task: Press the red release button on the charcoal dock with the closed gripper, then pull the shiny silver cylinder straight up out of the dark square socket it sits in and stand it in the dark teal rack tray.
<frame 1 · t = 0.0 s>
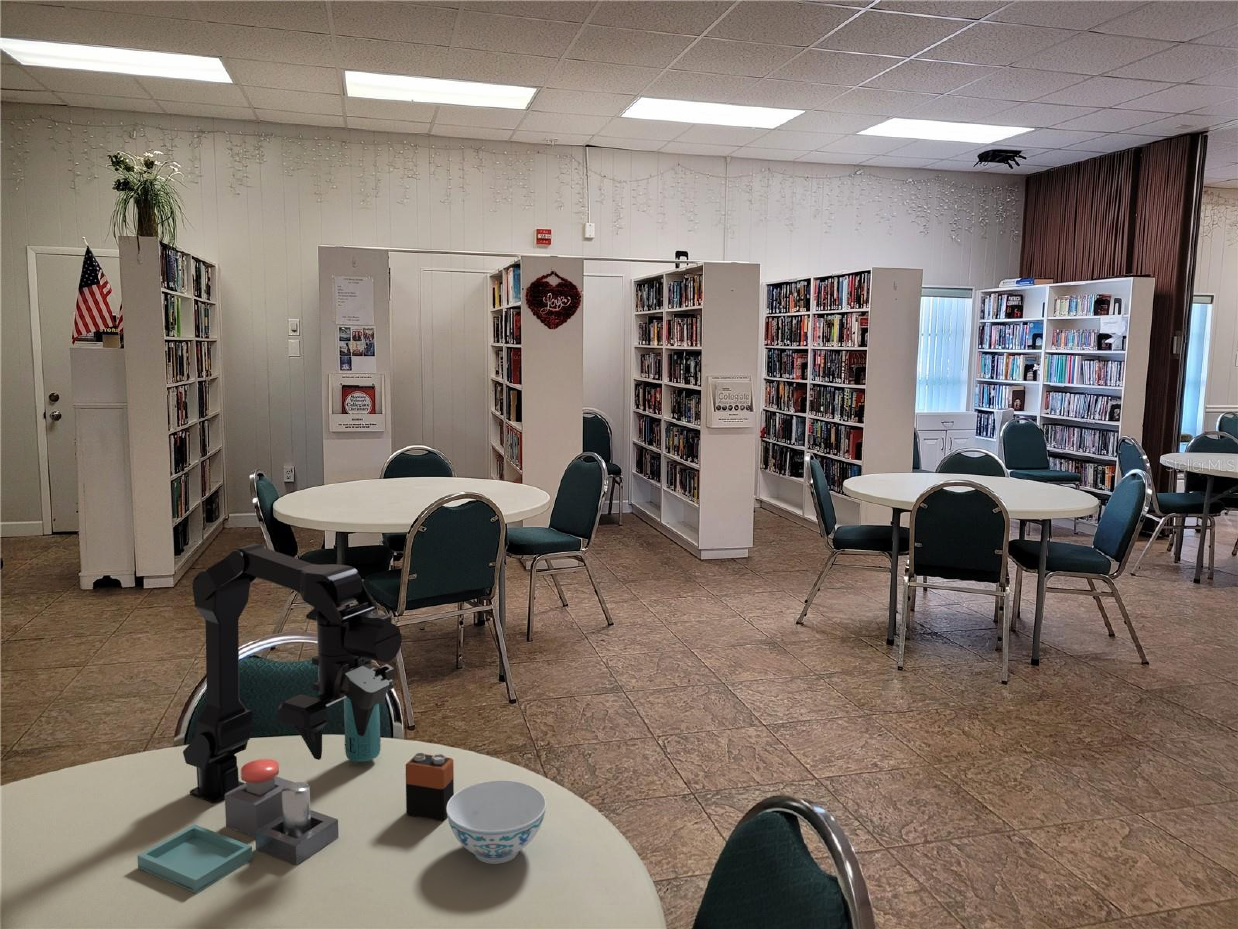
hand: (340, 747, 138), 15 cm above the table, tool pointing down, fingers open, 9 cm apart
rack tray: (195, 863, 132), on the table
shiny silver cylinder: (296, 816, 137), in the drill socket
chinaware: (496, 852, 137), on the table
dock: (262, 820, 144), on the table
beverage bottle: (362, 762, 165), on the table
release button: (260, 778, 143), point 7 cm above the table, slide at 0.0 cm
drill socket: (297, 843, 138), on the table
battery: (430, 813, 148), on the table
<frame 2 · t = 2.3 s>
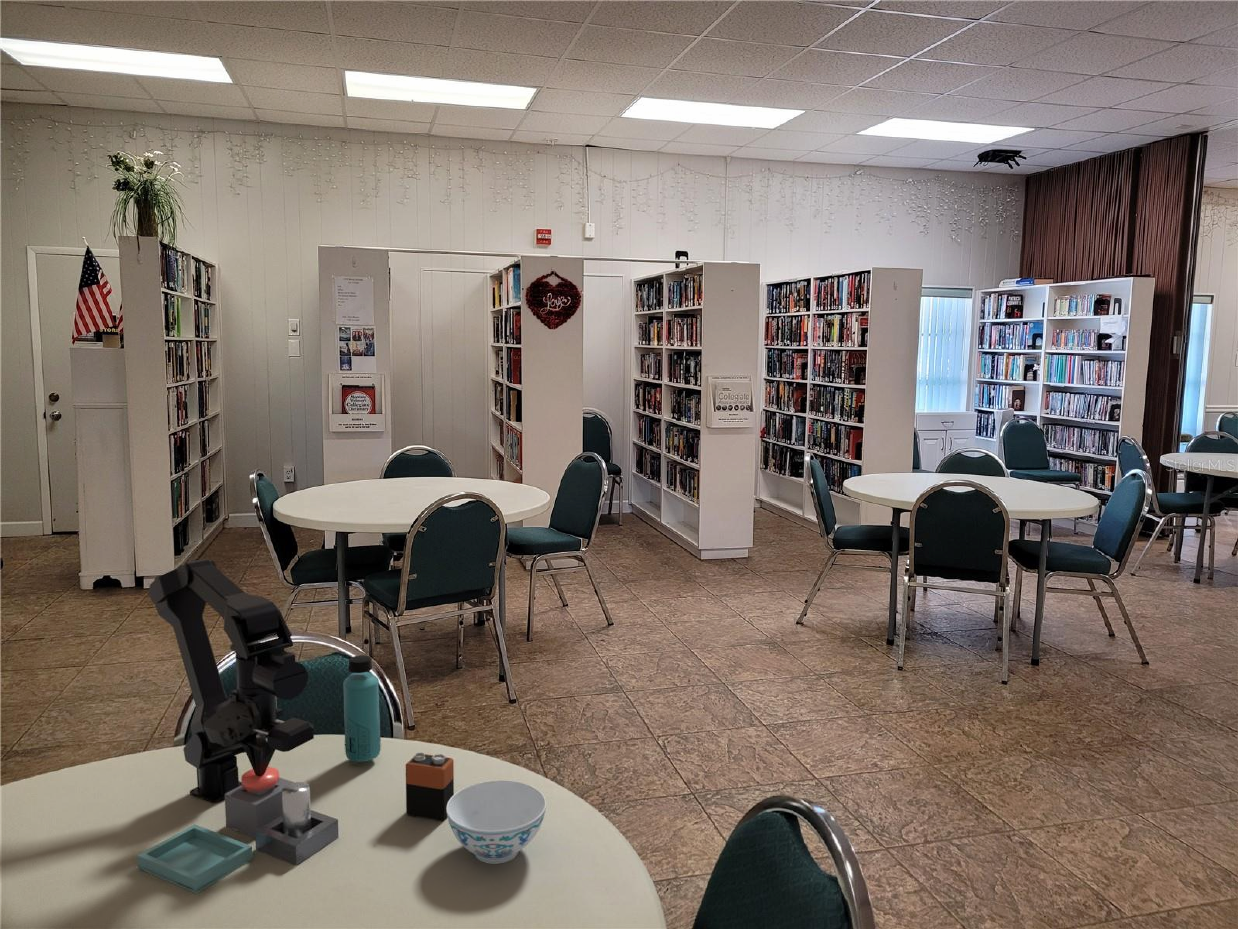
hand: (260, 775, 143), 8 cm above the table, tool pointing down, fingers closed, pressing on release button
release button: (260, 786, 143), point 6 cm above the table, slide at 1.4 cm, touching gripper
everything else where it was.
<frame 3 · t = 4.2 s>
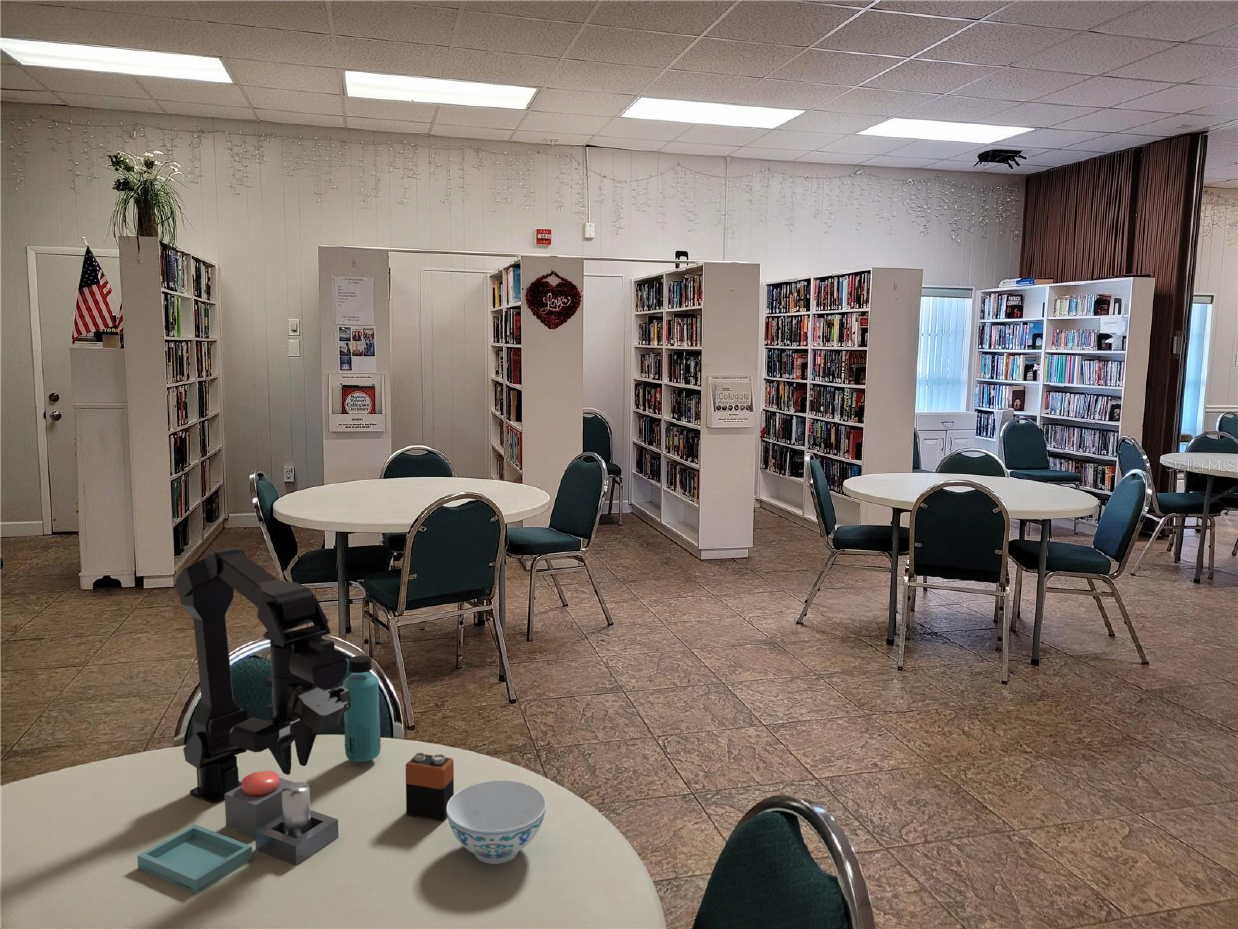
hand: (295, 769, 136), 12 cm above the table, tool pointing down, fingers open, 3 cm apart
release button: (260, 790, 144), point 5 cm above the table, slide at 2.1 cm
everything else where it was.
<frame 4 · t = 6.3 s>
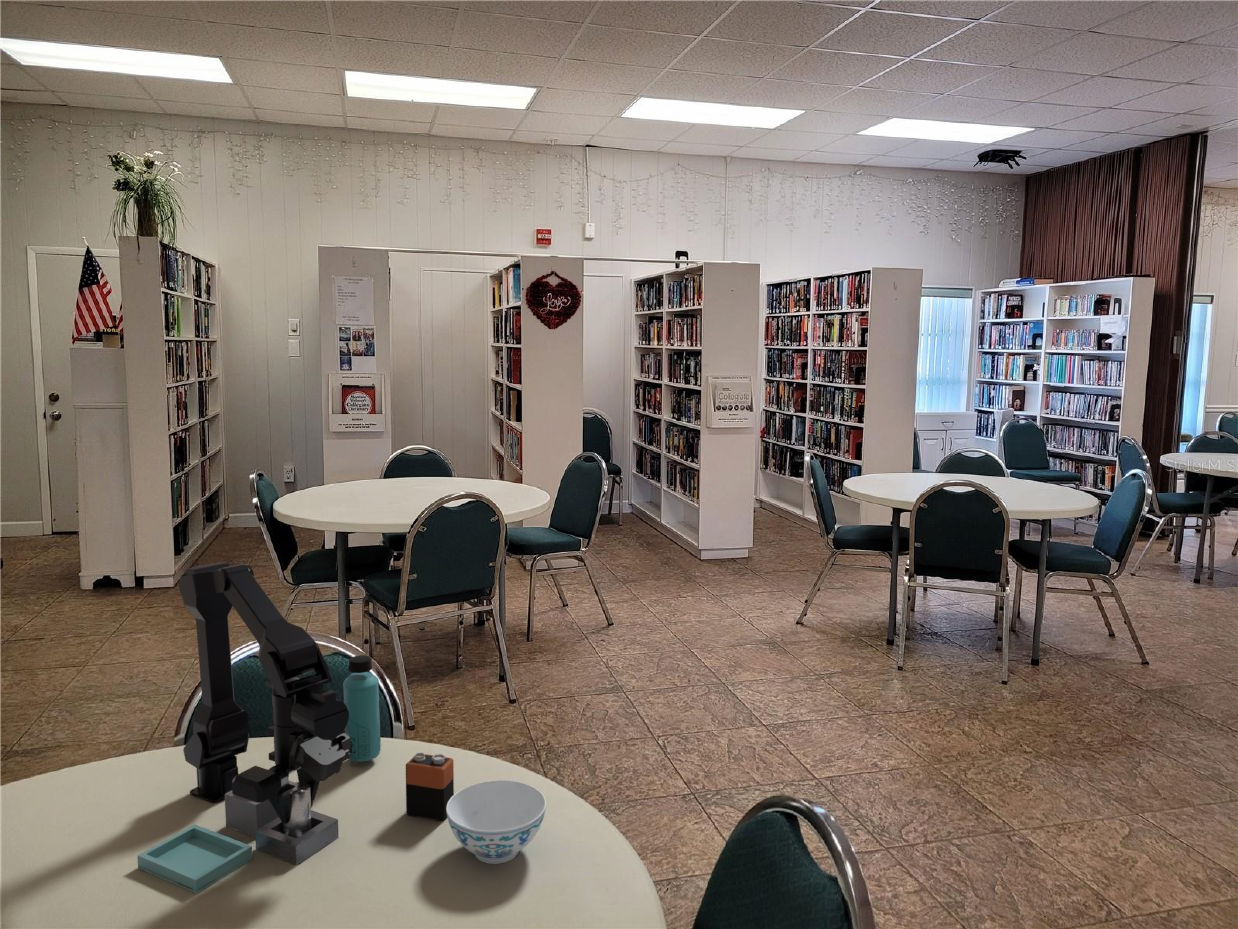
hand: (296, 816, 137), 5 cm above the table, tool pointing down, fingers closed on shiny silver cylinder, 4 cm apart
shiny silver cylinder: (297, 816, 137), in the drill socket, touching gripper
everything else where it was.
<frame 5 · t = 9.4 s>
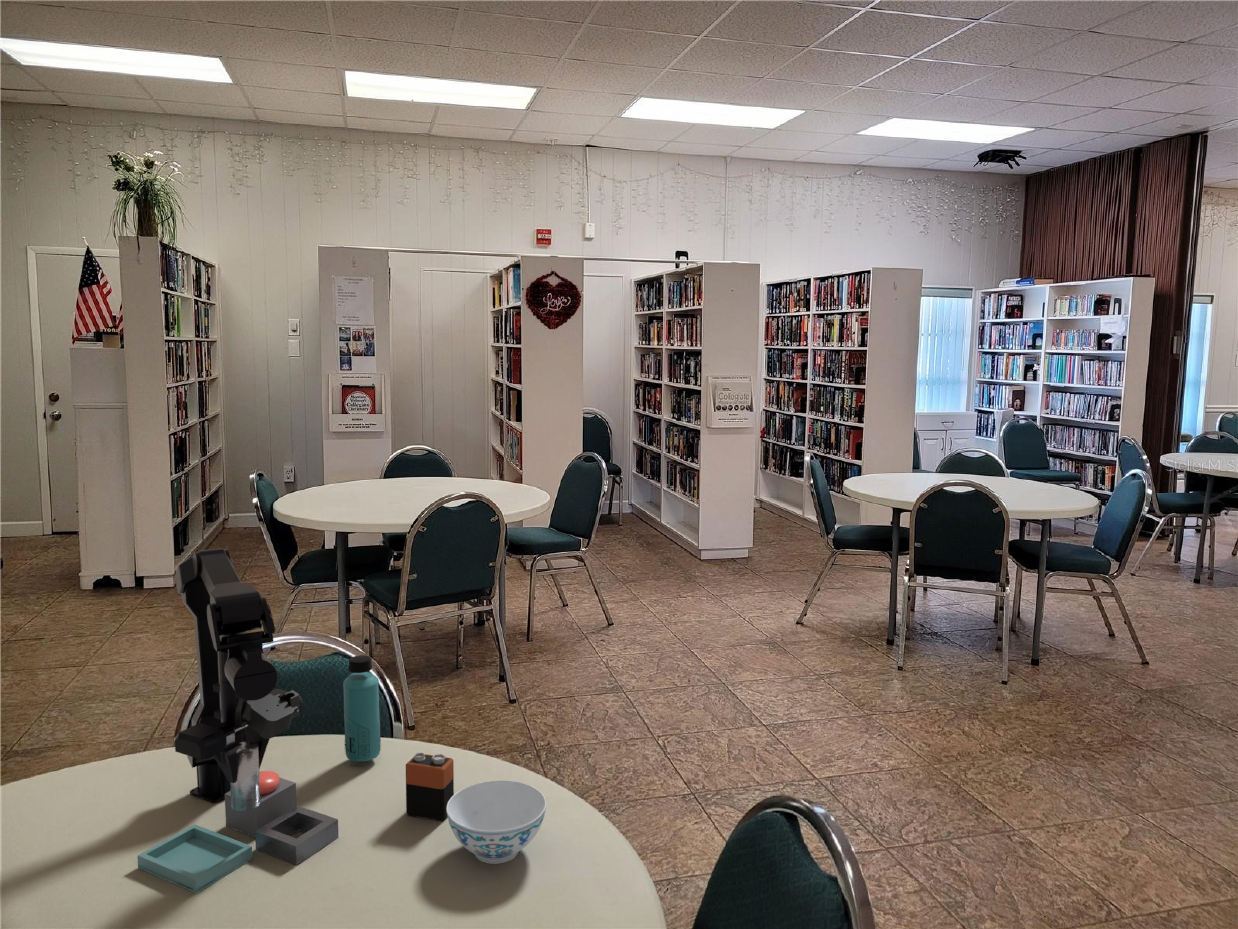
hand: (244, 776, 133), 12 cm above the table, tool pointing down, fingers closed on shiny silver cylinder, 4 cm apart
shiny silver cylinder: (244, 776, 133), point 12 cm above the table, touching gripper
everything else where it was.
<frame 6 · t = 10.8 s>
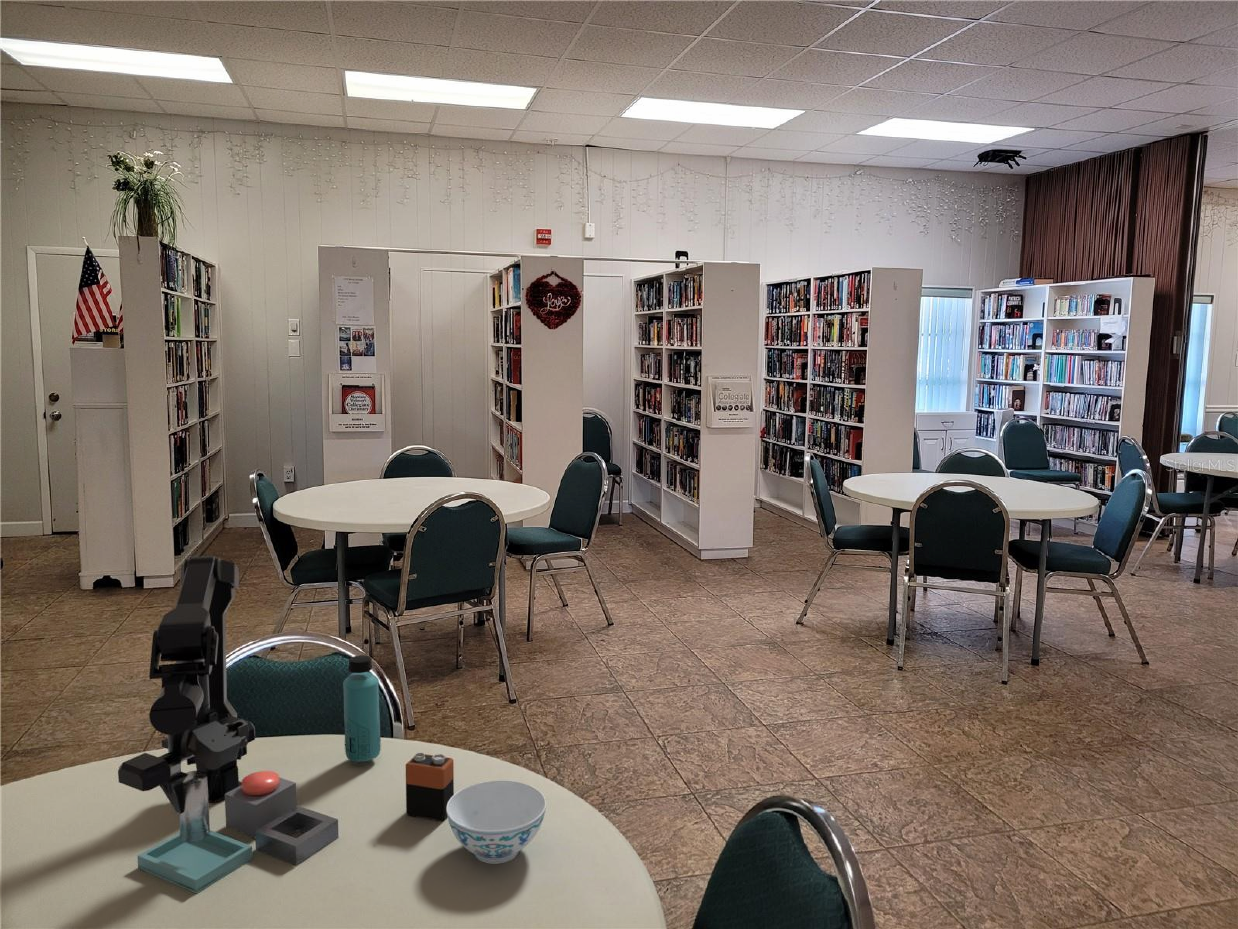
hand: (193, 806, 131), 9 cm above the table, tool pointing down, fingers closed on shiny silver cylinder, 4 cm apart
shiny silver cylinder: (193, 806, 131), point 9 cm above the table, touching gripper
everything else where it was.
when the fingers open (6 cm above the table, at t = 12.2 s): shiny silver cylinder stays where it is, resting on rack tray.
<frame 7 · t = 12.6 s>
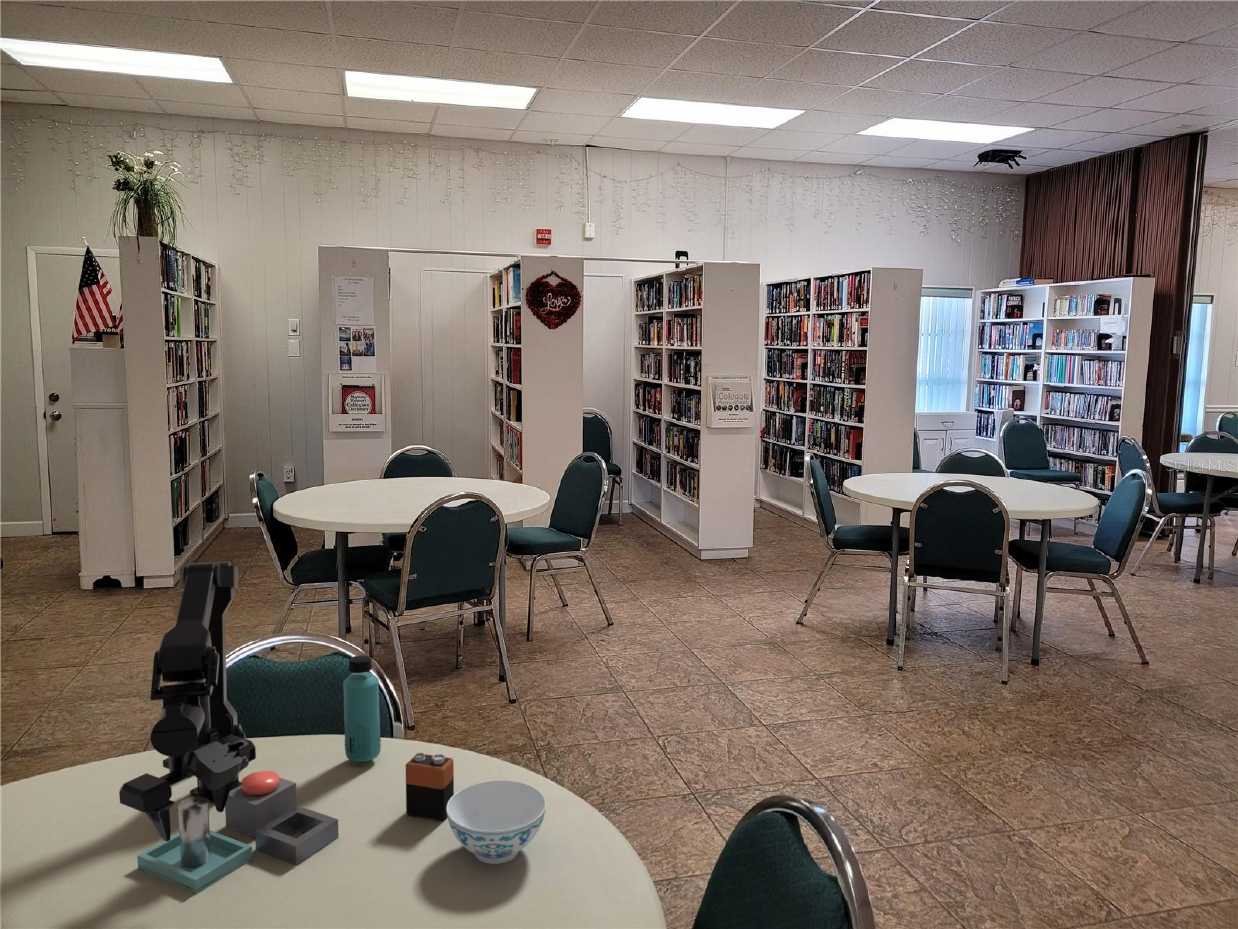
hand: (194, 825, 132), 6 cm above the table, tool pointing down, fingers open, 9 cm apart
shiny silver cylinder: (194, 831, 132), in the rack tray
everything else where it was.
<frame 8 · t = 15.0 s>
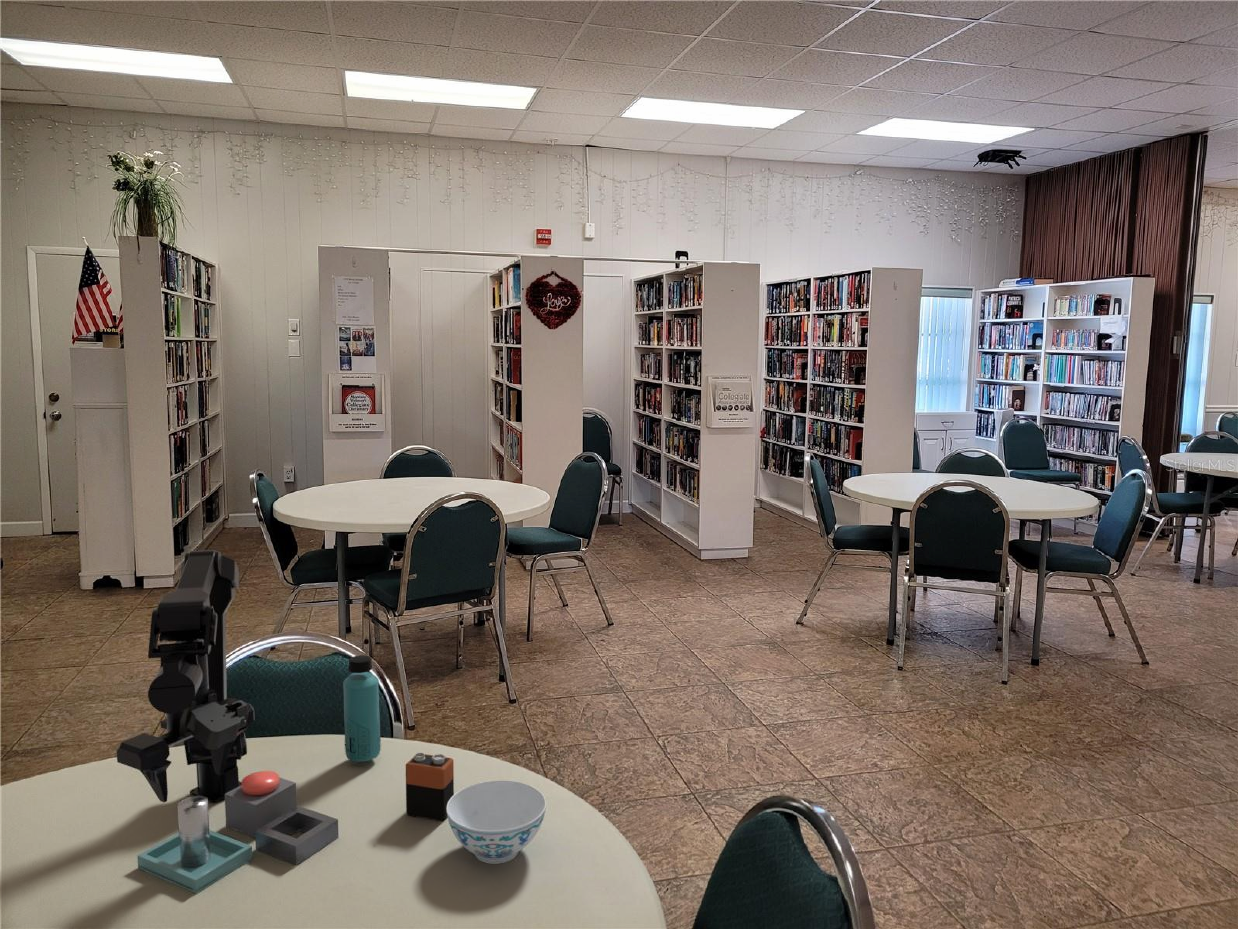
hand: (192, 787, 131), 12 cm above the table, tool pointing down, fingers open, 9 cm apart
nothing on the table moved.
at the end: release button slide at 2.1 cm; shiny silver cylinder inside the target area on the rack tray (0.0 cm from its centre), point 5.0 cm above the rack tray's base; shiny silver cylinder tilted 1° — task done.
